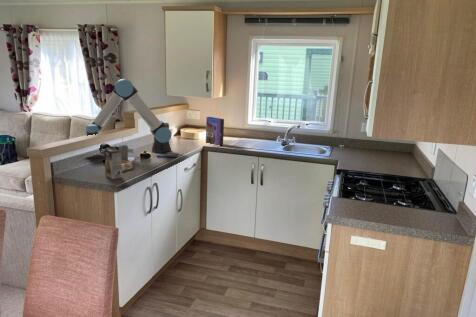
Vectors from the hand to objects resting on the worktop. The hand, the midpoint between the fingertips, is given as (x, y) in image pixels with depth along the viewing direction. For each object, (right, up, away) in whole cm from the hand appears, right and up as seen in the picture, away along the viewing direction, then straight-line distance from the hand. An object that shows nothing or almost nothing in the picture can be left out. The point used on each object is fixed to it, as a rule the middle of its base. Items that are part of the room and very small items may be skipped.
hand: (126, 152), depth 231 cm
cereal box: (+54, +9, +78) cm, 96 cm away
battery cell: (-2, -7, +3) cm, 8 cm away
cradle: (0, -10, -10) cm, 14 cm away
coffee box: (+1, -15, -27) cm, 31 cm away
